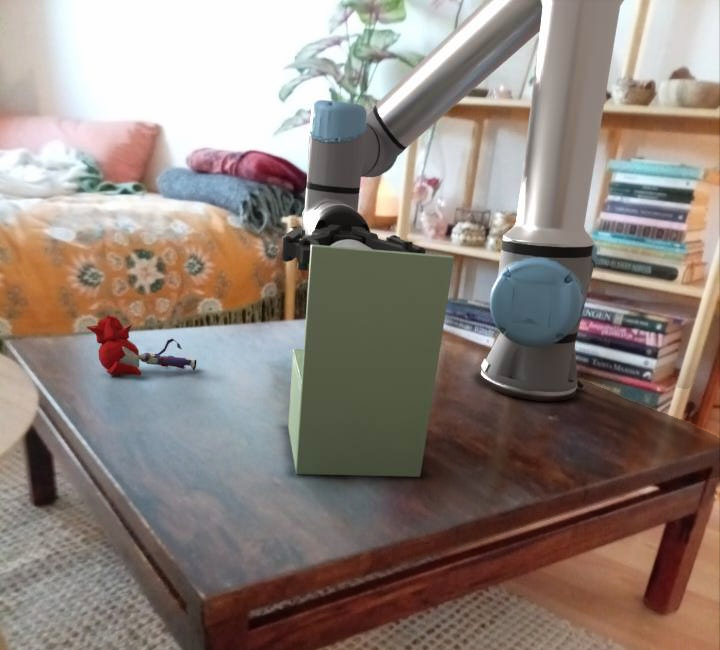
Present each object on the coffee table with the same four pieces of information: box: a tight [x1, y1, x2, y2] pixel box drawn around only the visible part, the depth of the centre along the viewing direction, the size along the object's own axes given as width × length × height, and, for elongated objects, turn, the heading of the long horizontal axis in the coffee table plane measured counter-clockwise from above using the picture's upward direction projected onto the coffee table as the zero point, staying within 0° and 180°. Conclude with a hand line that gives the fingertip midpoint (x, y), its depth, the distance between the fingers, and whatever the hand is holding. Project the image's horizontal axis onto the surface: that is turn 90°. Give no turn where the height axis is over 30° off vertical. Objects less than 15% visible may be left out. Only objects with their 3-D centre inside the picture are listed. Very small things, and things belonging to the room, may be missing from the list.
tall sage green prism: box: [287, 245, 455, 478], centre depth 78 cm, size 14×13×24 cm
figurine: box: [86, 314, 197, 376], centre depth 100 cm, size 6×8×15 cm
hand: (365, 267), depth 72 cm, fingers closed on ceramic mug, 9 cm apart
